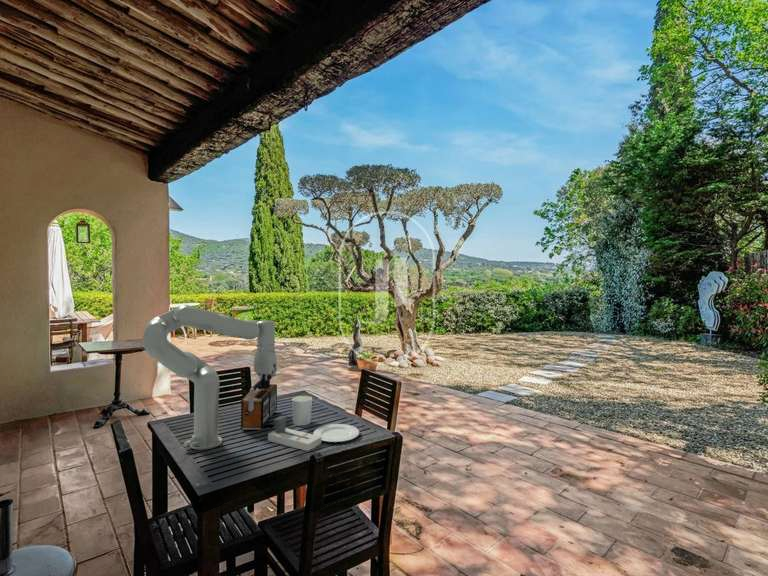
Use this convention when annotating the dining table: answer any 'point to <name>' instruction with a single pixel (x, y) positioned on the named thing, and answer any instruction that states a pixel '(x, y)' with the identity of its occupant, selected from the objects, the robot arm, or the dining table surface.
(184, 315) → the robot arm
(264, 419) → the radio cassette player
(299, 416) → the candle holder
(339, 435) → the plate
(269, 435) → the fader console
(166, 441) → the dining table surface
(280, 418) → the fader knob
